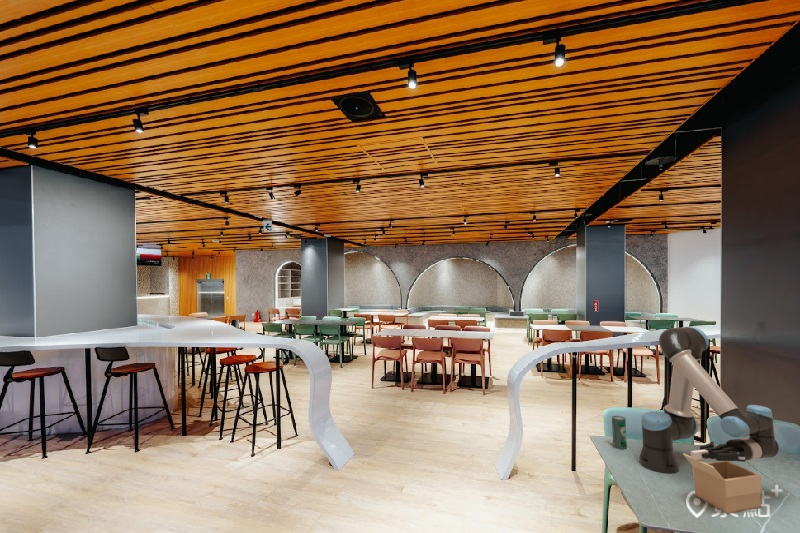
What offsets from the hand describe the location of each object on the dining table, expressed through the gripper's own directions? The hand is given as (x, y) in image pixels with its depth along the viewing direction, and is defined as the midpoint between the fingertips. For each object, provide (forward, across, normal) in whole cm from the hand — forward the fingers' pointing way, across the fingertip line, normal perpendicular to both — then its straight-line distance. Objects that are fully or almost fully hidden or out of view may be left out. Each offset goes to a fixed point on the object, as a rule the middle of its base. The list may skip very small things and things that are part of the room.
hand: (692, 455), depth 144 cm
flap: (-5, 0, -5) cm, 7 cm away
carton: (-15, +1, -19) cm, 25 cm away
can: (-13, +53, -19) cm, 58 cm away
